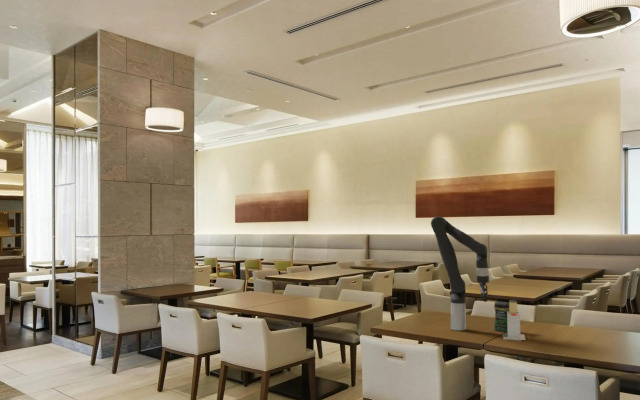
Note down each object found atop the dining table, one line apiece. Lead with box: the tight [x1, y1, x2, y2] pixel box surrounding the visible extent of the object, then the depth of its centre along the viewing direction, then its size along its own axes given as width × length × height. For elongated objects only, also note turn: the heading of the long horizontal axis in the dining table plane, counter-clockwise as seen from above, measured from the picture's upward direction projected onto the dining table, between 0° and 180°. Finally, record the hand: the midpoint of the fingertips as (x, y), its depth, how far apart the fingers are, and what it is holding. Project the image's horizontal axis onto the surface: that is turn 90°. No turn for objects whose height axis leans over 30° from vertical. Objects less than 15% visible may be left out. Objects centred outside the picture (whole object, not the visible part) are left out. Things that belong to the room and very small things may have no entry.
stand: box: [502, 311, 526, 341], centre depth 287 cm, size 12×12×15 cm
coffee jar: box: [493, 301, 509, 333], centre depth 307 cm, size 10×8×19 cm
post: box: [508, 299, 518, 313], centre depth 288 cm, size 4×4×21 cm
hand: (484, 300), depth 305 cm, fingers open, 8 cm apart
